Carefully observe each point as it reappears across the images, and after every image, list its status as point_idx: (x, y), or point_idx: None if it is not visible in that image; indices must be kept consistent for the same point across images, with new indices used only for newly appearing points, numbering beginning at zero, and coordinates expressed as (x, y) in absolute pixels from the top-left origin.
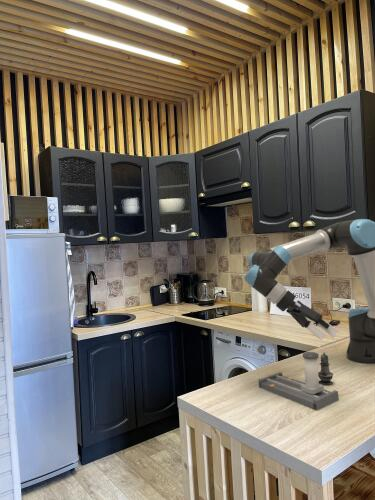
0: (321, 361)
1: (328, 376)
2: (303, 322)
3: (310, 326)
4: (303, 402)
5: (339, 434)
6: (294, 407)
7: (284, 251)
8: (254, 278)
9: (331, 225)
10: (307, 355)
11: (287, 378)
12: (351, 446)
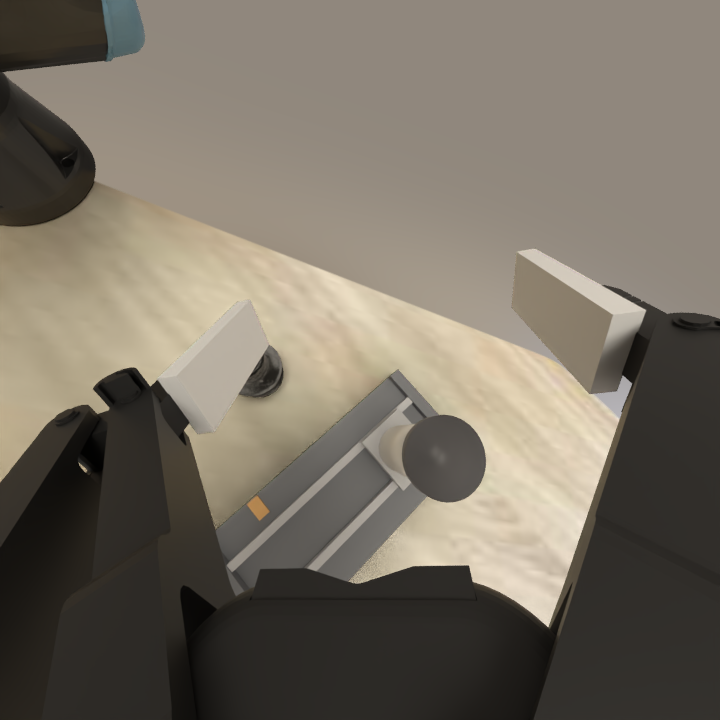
0: None
1: (281, 364)
2: (196, 478)
3: (205, 395)
4: None
5: (570, 426)
6: (447, 513)
7: None
8: None
9: None
10: (472, 479)
11: (248, 516)
12: (611, 415)
